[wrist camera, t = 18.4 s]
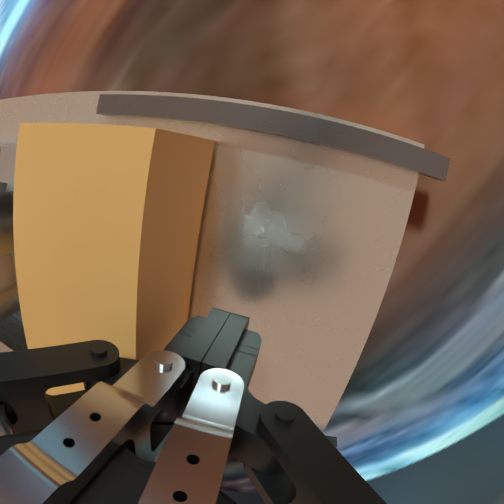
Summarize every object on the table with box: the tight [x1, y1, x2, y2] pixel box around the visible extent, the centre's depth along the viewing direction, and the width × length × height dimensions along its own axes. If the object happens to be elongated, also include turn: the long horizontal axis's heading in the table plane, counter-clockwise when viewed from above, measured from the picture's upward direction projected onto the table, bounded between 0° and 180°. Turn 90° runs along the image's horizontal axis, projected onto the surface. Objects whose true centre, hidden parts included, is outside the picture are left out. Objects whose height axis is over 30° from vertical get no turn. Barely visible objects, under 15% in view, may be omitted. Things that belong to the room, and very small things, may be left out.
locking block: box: [13, 123, 215, 395], centre depth 13 cm, size 6×14×6 cm, turn 169°
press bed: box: [0, 91, 450, 448], centre depth 14 cm, size 28×18×6 cm, turn 79°
